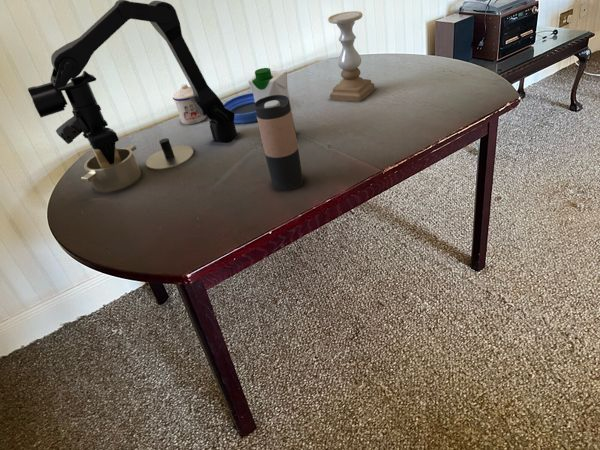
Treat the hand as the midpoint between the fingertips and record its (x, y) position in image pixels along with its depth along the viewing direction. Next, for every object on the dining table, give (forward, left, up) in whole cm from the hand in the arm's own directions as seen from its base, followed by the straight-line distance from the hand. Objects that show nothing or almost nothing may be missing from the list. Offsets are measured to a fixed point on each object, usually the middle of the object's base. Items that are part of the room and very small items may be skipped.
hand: (109, 160), depth 121 cm
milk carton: (-35, -29, -6) cm, 46 cm away
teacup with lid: (+2, -41, -6) cm, 42 cm away
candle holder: (-45, -62, -6) cm, 77 cm away
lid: (-8, -13, -6) cm, 16 cm away
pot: (0, 0, -6) cm, 6 cm away
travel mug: (-48, -7, -6) cm, 49 cm away
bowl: (-16, -46, -6) cm, 49 cm away
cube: (0, 0, -1) cm, 1 cm away
